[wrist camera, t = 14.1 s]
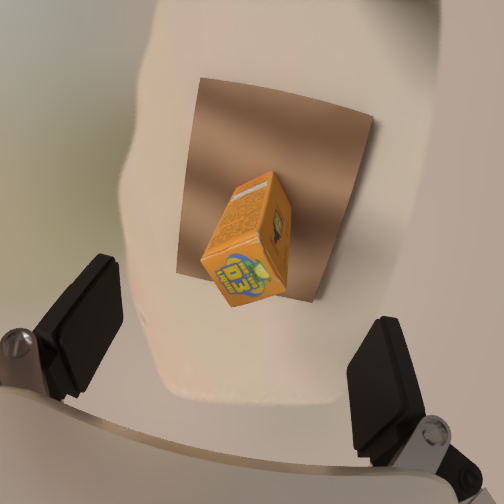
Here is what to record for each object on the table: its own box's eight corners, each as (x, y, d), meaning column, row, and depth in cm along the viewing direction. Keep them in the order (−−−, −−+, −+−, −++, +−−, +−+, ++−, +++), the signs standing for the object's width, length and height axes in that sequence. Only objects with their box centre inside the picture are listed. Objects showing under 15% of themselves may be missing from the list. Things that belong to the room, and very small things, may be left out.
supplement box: (230, 187, 22) (193, 257, 14) (274, 168, 21) (264, 228, 13) (251, 226, 24) (230, 312, 15) (293, 208, 23) (296, 290, 14)
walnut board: (204, 78, 19) (200, 77, 19) (369, 115, 20) (373, 116, 19) (179, 266, 27) (176, 272, 27) (311, 295, 28) (312, 302, 27)
